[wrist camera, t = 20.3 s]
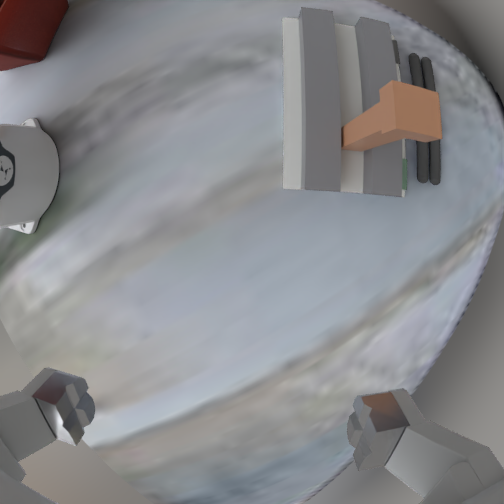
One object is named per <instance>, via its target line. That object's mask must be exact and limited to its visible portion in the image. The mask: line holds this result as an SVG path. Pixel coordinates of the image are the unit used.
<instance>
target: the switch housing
mask: <svg viewBox="0 0 504 504" xmlns="http://www.w3.org/2000/svg"><path fill="white" fill-rule="evenodd" d="M282 37H283V187H282V189H299V190H319V191H336V192H351V193H364V194H375V195H386V196H396V197H405V190H407V159H405V138H404V139H401V140H397V141H394V142H391V143H387V144H384V145H381V146H378V147H374V148H371V149H368V150H365V151H362V152H360V151H351V150H341V128H342V127H343V126H345V125H346V124H348V123H349V122H350V121H352V120H353V119H355V118H356V117H358V116H359V115H361V114H362V113H364V112H365V111H367V110H368V109H370V108H371V107H373V106H374V105H376V104H377V103H379V102H380V93H379V89H381V88H382V87H383V86H385V85H386V84H387V83H389V82H390V81H391V80H395V81H399V82H401V78H400V70H399V64H400V59H399V53H398V47H397V41H396V40H395V39H394V36H392V35H391V32H390V27H389V23H385V22H381V21H378V20H374V19H369V18H365V17H360V19H359V20H358V22H357V24H356V25H355V27H354V26H349V25H343V24H337V23H334V18H333V11H328V10H321V9H313V8H303V7H301V10H300V14H299V18H298V19H296V18H282Z"/></svg>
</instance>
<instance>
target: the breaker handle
mask: <svg viewBox="0 0 504 504" xmlns="http://www.w3.org/2000/svg"><path fill="white" fill-rule="evenodd" d="M379 93H380V102H379V103H377V104H376V105H374V106H373V107H371V108H370V109H368V110H367V111H365V112H364V113H362V114H361V115H359V116H358V117H356V118H355V119H353V120H352V121H350V122H349V123H348V124H346V125H345V126H343V127H342V128H341V150H351V151H360V152H362V151H365V150H368V149H371V148H374V147H378V146H381V145H384V144H387V143H391V142H394V141H397V140H401V139H404V138H407V139H412V140H417V141H421V142H430V141H434V140H439V139H442V126H441V114H440V104H439V95H438V93H437V92H434V91H431V90H428V89H424V88H421V87H417V86H414V85H410V84H406V83H403V82H399V81H395V80H391V81H390V82H389V83H387V84H386V85H385V86H383V87H382V88H381V89H379Z"/></svg>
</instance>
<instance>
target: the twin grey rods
mask: <svg viewBox="0 0 504 504" xmlns="http://www.w3.org/2000/svg"><path fill="white" fill-rule="evenodd" d="M409 62H410V68H411V75H412V83H413V85H414V86H417V87H421V88H424V87H423V79H422V73H421V66H420V60H419V56H418V55H417V54H415V53H411V54H410V55H409ZM421 64H422V70H423V76H424V83H425V89H428V90H431V91H434V92H436V90H435V82H434V76H433V70H432V64H431V60H430V59H429V58H427V57H423V58H422V59H421ZM429 143H430V182H431V183H432V184H433V185H438V184H439V183H440V171H441V164H440V139H439V140H434V141H430V142H429ZM417 178H418V180H419V182H421V183H426V182H427V181H428V142H421V141H417Z"/></svg>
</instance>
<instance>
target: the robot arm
mask: <svg viewBox="0 0 504 504" xmlns="http://www.w3.org/2000/svg"><path fill="white" fill-rule="evenodd" d="M58 177H59V159H58V153H57V149H56V146H55V144H54V142H53V140H52V139H51V137H50V136H49V135H48V134H46V133H45V132H44V131H42V129H41V128H40V125H39V123H38V121H37V119H36V118H30V119H28V120H26V121H25V122H23V123H22V124H20V125H11V124H1V125H0V228H5V227H8V228H11V229H14V230H17V231H21V232H24V233H27V234H30V233H34V232H35V230H36V228H37V225H38V222H39V219H40V217H41V216H42V214H43V213H44V212H45V211H46V210H47V208H48V207H49V205H50V203H51V202H52V199H53V197H54V194H55V191H56V188H57V184H58ZM25 224H26V225H25ZM87 390H88V385H87V383H86V380H85V379H83V378H82V377H78V376H75V375H72V374H69V373H65V372H62V371H58V370H55V369H52V368H49V367H48V368H44V369H43V370H42V371H41V372H40V373H39V374H38V375H37V376H36V377H35V378H34V379H33V380H32V381H31V382H30V383H29V384H28V385H27V386H26V387H25V388H24V389H23V390H22V391H21V392H20V391H15V392H12V393H9V394H6V395H3V396H0V504H59V503H57V502H55V501H52V500H51V499H49V498H47V497H45V496H43V495H42V494H40V493H38V492H36V491H35V490H33V489H31V488H29V487H28V486H26V485H25V484H23V483H21V481H22V480H23V478H24V477H25V475H26V473H25V470H24V469H23V468H22V467H21V465H20V464H19V463H18V462H19V461H20V460H22V459H24V458H26V457H28V456H29V455H31V454H33V453H35V452H36V451H38V450H40V449H42V448H43V447H45V446H47V445H49V444H50V443H52V442H53V441H55V440H56V439H59V440H61V441H64V442H66V443H69V444H72V445H75V446H77V444H78V443H79V441H80V440H81V438H82V436H83V435H84V433H85V432H84V427H85V426H87V425H89V424H90V423H91V422H92V420H93V418H94V414H95V404H94V401H93V399H92V397H91V396H90V395H89V394H88V393H87ZM353 407H354V410H355V412H353V413H352V414H351V415H350V416H349V420H348V423H347V435H348V440H349V443H350V445H352V446H353V447H355V448H356V449H355V451H354V454H353V456H354V459H355V462H356V466H357V468H358V471H360V470H367V469H372V468H378V467H383V466H385V468H386V469H388V470H389V471H390V472H391V473H392V474H394V475H395V476H396V477H397V478H399V479H400V480H401V481H402V482H404V483H405V484H406V485H408V486H409V487H410V488H411V489H413V490H414V491H416V492H417V493H418V494H419V495H421V496H422V497H423V498H424V499H423V500H422V501H421V502H420V503H419V504H504V469H503V467H502V466H501V464H500V463H499V461H498V460H497V458H496V457H495V456H494V454H493V453H492V451H491V450H490V448H489V447H487V446H484V445H482V444H480V443H477V442H475V441H473V440H470V439H468V438H466V437H464V436H462V435H460V434H458V433H455V432H453V431H451V430H449V429H447V428H445V427H443V426H441V425H438V424H436V423H434V422H432V421H427V422H426V420H425V419H424V417H423V415H422V414H421V412H420V411H419V409H418V408H417V406H416V404H415V403H414V401H413V400H412V398H411V397H410V395H409V394H408V392H407V391H406V390H405V389H403V388H402V389H396V390H391V391H388V392H380V393H373V394H366V395H358V396H357V397H356V398H355V400H354V403H353Z"/></svg>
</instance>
